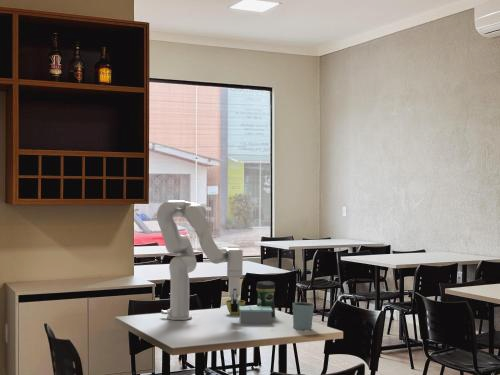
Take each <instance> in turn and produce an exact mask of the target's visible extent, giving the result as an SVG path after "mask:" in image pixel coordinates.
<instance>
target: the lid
mask: <svg viewBox="0 0 500 375" xmlns="http://www.w3.org/2000/svg"><path fill="white" fill-rule="evenodd" d="M230 300H231V299H230ZM239 300H240V299H237V304H238V310H239V311H240V312H273V310H272V308H271V306H257V305H256V306H255V305H253V306H252V305H245V306H239V302H240V301H239ZM231 304H232V300H231Z"/></svg>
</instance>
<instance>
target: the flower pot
mask: <svg viewBox="0 0 500 375" xmlns="http://www.w3.org/2000/svg"><path fill="white" fill-rule="evenodd" d="M238 300H239V301H240V302H239V306H246V301H245V300H243V299H238ZM225 303H226V308H227V311H228V312H229V314H230V315H231V316H232V315H233V316H235V315H236V316H238V315H239V316H240V311H239V310H238V312H231V299H228V300H226V301H225Z"/></svg>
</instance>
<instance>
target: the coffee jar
mask: <svg viewBox="0 0 500 375" xmlns="http://www.w3.org/2000/svg"><path fill="white" fill-rule="evenodd" d="M275 284H276V283H275V281H271V280H264V281H257V283H256V287H255V288H256V289H255V290H256V292H257V298H256V300H257V301H256V306H271V308H272V310H273V312H272V318H274V317H275V316H276V308H275V306H276V305H275V291H276V285H275Z"/></svg>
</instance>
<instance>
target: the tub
mask: <svg viewBox="0 0 500 375" xmlns="http://www.w3.org/2000/svg"><path fill="white" fill-rule="evenodd" d="M272 318H273V317H272V312H240V315H239V322H240V324H241V325H242V324H243V325H245V324H247V325H248V324H250V325H251V324H252V325H254V324H255V325H258V324H259V325H262V324H263V325H265V324H266V325H270V324H271V325H272Z"/></svg>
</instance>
